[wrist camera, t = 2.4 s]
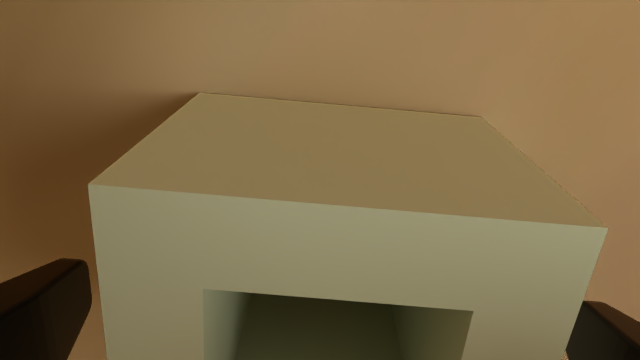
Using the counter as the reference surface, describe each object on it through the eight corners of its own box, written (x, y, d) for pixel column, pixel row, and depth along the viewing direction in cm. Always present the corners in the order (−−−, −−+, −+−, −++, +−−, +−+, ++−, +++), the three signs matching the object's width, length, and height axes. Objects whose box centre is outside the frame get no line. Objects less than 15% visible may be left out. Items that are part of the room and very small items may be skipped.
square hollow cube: (481, 117, 10) (609, 228, 5) (432, 340, 12) (493, 552, 8) (199, 92, 10) (87, 184, 5) (202, 322, 12) (125, 524, 8)
